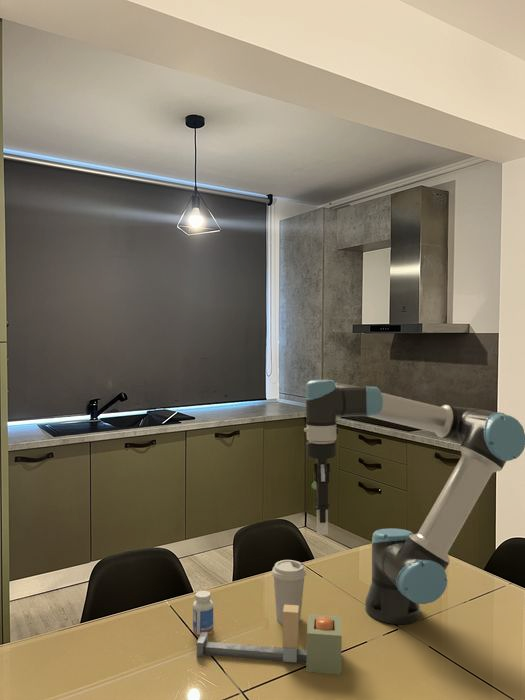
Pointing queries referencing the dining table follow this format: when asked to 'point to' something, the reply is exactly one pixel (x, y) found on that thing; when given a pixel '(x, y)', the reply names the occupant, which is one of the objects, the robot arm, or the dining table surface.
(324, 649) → the green square holder
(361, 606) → the dining table surface
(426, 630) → the dining table surface
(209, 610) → the pill bottle
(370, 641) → the dining table surface
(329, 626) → the orange rounded piece
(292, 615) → the carriage
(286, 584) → the coffee cup
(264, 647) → the rail
